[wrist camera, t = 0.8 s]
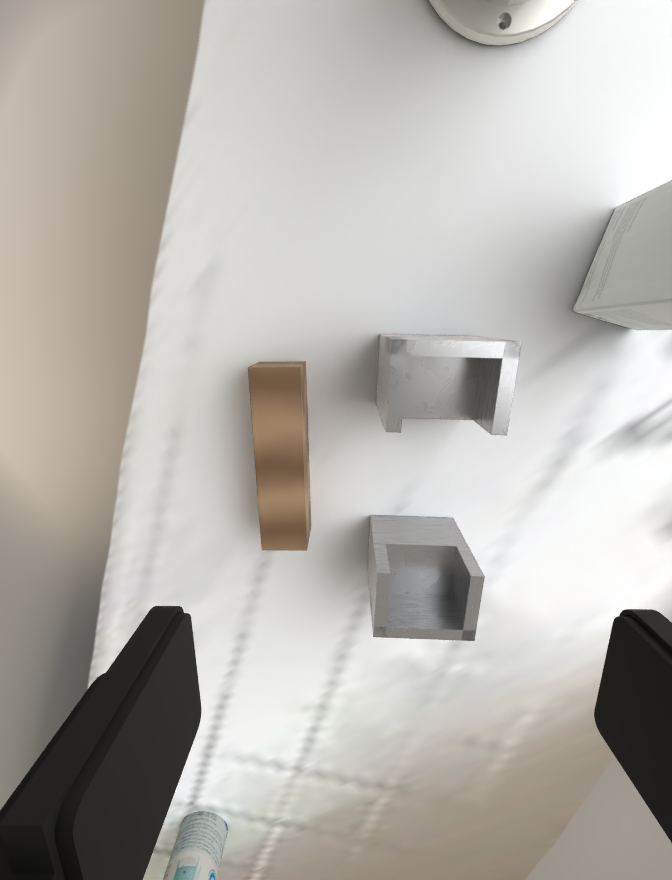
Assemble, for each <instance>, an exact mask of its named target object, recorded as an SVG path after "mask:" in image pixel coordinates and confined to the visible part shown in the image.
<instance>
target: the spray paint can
mask: <svg viewBox="0 0 672 880" xmlns="http://www.w3.org/2000/svg"><path fill="white" fill-rule="evenodd" d="M226 836H227V825H226V823H225V821H224V820H223V819H222V818H220V817H219V816H217V815H215V814H212V813H208V812H196V813H192V814H190V815H188V816H187V817H185V819H184V821H183V823H182V824H181V827H180V830H179V833H178V836H177V839H176V842H175V845H174V848H173V851H172V854H171V857H170V860H169V863H168V866H167V869H166V872H165V875H164V878H163V880H217V876H218V871H219V867H220V863H221V858H222V854H223V849H224V845H225V841H226Z"/></svg>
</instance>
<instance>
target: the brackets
mask: <svg viewBox="0 0 672 880" xmlns="http://www.w3.org/2000/svg"><path fill="white" fill-rule="evenodd" d="M520 349H521V342H517V341H509V340H502V339H494V338H486V337H479V336H449V335H404V334H380V339H379V358H378V377H377V397H376V405H377V408H378V411H379V414H380V417H381V420H382V423H383V425H384V428H385V431H386V432H401V423H402V418H417V419H454V420H474V421H475V422H476V423H477V424H479V425H480V426H481V427H482V428H484V429H485V430H486V431H487V432H489V433H490V434H491V435H507V431H508V425H509V418H510V412H511V406H512V399H513V393H514V387H515V380H516V374H517V368H518V361H519V355H520ZM368 579H369V591H370V604H371V616H372V628H373V637H385V638H412V639H439V640H465V641H474V640H475V633H476V627H477V621H478V614H479V608H480V602H481V595H482V589H483V583H484V575H483V573H482V571H481V569H480V567H479V565H478V563H477V562H476V560H475V558H474V556H473V554H472V552H471V550H470V548H469V547H468V545H467V543H466V541H465V539H464V537H463V535H462V533H461V532H460V530H459V528H458V526H457V524H456V522H455V520H454V519H453V518H447V517H415V516H383V515H370V531H369V550H368Z"/></svg>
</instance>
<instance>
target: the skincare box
mask: <svg viewBox="0 0 672 880" xmlns="http://www.w3.org/2000/svg"><path fill="white" fill-rule="evenodd" d="M573 311H574V312H577V313H580V314H583V315H587V316H590V317H593V318H596V319H600V320H603V321H607V322H610V323H614V324H617V325H621V326H624V327H627V328H631V329H634V330H672V180H671V181H669V182H667V183H665V184H663V185H661V186H659V187H657V188H655V189H653V190H651V191H649V192H646V193H644V194H642V195H640V196H638V197H636V198H634V199H632V200H630V201H628V202H626V203H624V204H622V205H619V206H617V207H616V208H615V210H614V212H613V215H612V217H611V220H610V222H609V224H608V227H607V229H606V231H605V234H604V236H603V239H602V241H601V243H600V246H599V248H598V250H597V253H596V255H595V258H594V260H593V262H592V265H591V267H590V270H589V272H588V274H587V277H586V279H585V282H584V284H583V287H582V290H581V292H580V295H579V297H578V299H577V302H576V304H575V306H574V308H573Z"/></svg>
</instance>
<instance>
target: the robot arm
mask: <svg viewBox="0 0 672 880" xmlns="http://www.w3.org/2000/svg"><path fill="white" fill-rule="evenodd" d="M577 1H578V0H429V2H430V3H431V5H432V6H433V8H434V9H435V11H436V12H437V14H438V15H439V17H441V18H442V19H443V20H444V21H445V22H446V23H447V24H448V25H449V26H450V27H451V28H452V29H453V30H454V31H456V32H458V33H459V34H461V35H462V36H464V37H466V38H467V39H470V40H473V41H476V42H479V43H482V44H487V45H508V44H514V43H520V42H523V41H525V40H528V39H530V38H533V37H535V36H538V35H539V34H541V33H542V32H544V31H545V30H547V29H548V28H550V27H552V26H553V25H555V24H556V23H557V22H558V21H559V20H560V19H561V18H562V17H563V16H564V15H565V14H566V13H568V12H569V11H570V10H571V9H572V7H573V6H574V5H575V3H576V2H577ZM500 27H502V29H500ZM594 717H595V722H596V725H597V728H598V730H599V732H600V734H601V735H602V737H603V738H604V740H605V741H606V743H607V745H608V746H609V748H610V749H611V751H612V752H613V754H614V755H615V757H616V758H617V760H618V761H619V763H620V764H621V766H622V767H623V769H624V771H625V772H626V774H627V775H628V776H629V778H630V780H631V781H632V783H633V784H634V786H635V787H636V789H637V790H638V792H639V793H640V795H641V796H642V798H643V800H644V801H645V803H646V804H647V806H648V807H649V809H650V810H651V812H652V813H653V815H654V816H655V818H656V819H657V821H658V822H659V824H660V826H661V827H662V828H663V830H664V831H665V833H666V835H667V836H668V838H669V839H670V840H671V842H672V623H671V622H670V621H669V620H668V619H667V618H665V617H664V616H663V615H662V614H661V613H659V612H658V611H655V610H640V609H627V610H623V611H622V612H621V613H620V616H619V617H616V618H615V619H614V622H613V626H612V630H611V635H610V640H609V645H608V649H607V654H606V659H605V664H604V668H603V673H602V678H601V683H600V687H599V692H598V697H597V702H596V706H595V712H594ZM200 719H201V701H200V692H199V683H198V674H197V666H196V657H195V648H194V640H193V631H192V622H191V616H190V614H188V613H184V612H183V609H182V607H180V606H155V607H153V608H152V609H151V610H150V611H149V612H148V614H147V615H146V617H145V618H144V620H143V621H142V622H141V624H140V625H139V627H138V628H137V630H136V631H135V632H134V634H133V635H132V637H131V638H130V639H129V641H128V642H127V644H126V645H125V647H124V648H123V649H122V651H121V652H120V654H119V655H118V656H117V658H116V659H115V661H114V662H113V664H112V665H111V666H110V668H109V669H108V671H107V672H106V673H104V674H102V675H101V676H99V677H98V678H97V679H96V680H95V681H94V682H93V683H92V684H91V686H90V687H89V689H88V690H87V691H86V693H85V694H84V695H83V697H82V698H81V700H80V701H79V703H78V704H77V705H76V707H75V708H74V709H73V711H72V712H71V713H70V715H69V716H68V718H67V719H66V720H65V722H64V723H63V725H62V726H61V728H60V729H59V730H58V731H57V733H56V734H55V736H54V737H53V738H52V740H51V741H50V743H49V744H48V745H47V747H46V748H45V750H44V751H43V752H42V754H41V755H40V756H39V758H38V759H37V761H36V762H35V764H34V765H33V766H32V767H31V769H30V770H29V772H28V773H27V774H26V776H25V777H24V779H23V780H22V781H21V783H20V784H19V785H18V787H17V788H16V790H15V791H14V792H13V794H12V795H11V796H10V798H9V799H8V801H7V802H6V804H5V805H4V806H3V808H2V809H1V810H0V880H143V877H144V874H145V872H146V869H147V866H148V864H149V861H150V858H151V855H152V853H153V850H154V847H155V845H156V842H157V839H158V836H159V834H160V831H161V828H162V825H163V823H164V820H165V817H166V815H167V812H168V809H169V806H170V804H171V801H172V798H173V796H174V793H175V790H176V787H177V785H178V782H179V779H180V777H181V774H182V771H183V768H184V766H185V763H186V760H187V757H188V755H189V752H190V749H191V747H192V744H193V741H194V738H195V736H196V733H197V730H198V727H199V724H200Z"/></svg>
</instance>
